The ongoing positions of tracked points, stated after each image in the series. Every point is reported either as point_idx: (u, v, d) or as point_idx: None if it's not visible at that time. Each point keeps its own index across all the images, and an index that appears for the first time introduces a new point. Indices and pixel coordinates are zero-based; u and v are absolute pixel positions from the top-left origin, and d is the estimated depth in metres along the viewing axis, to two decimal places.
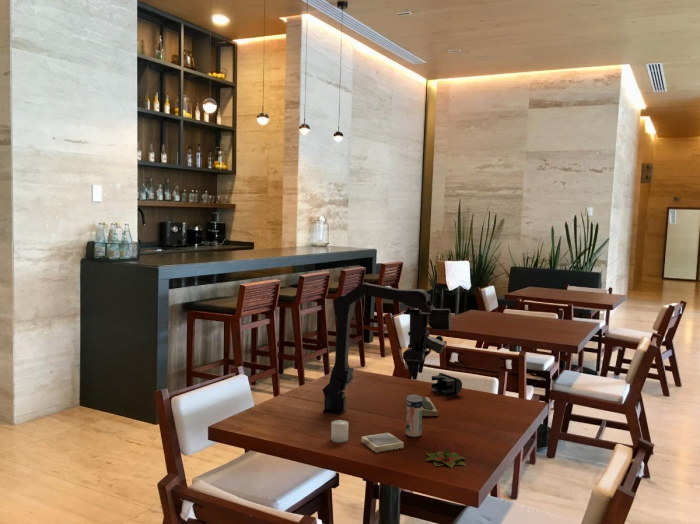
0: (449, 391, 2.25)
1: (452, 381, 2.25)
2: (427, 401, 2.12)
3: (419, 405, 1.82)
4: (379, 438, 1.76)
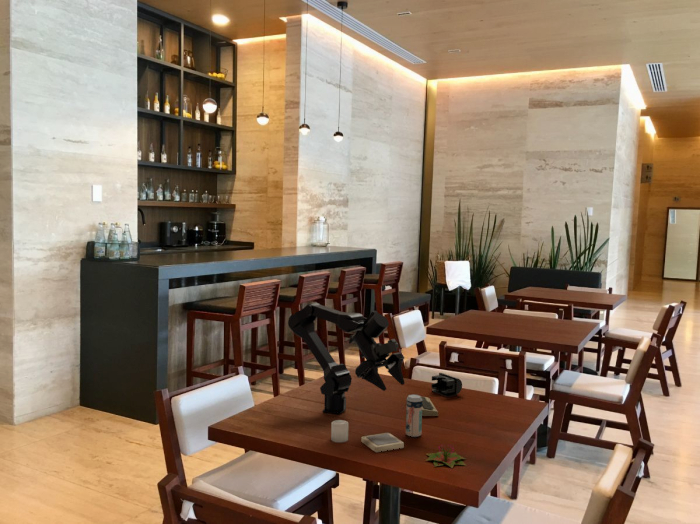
0: (449, 391, 2.25)
1: (452, 381, 2.25)
2: (427, 401, 2.12)
3: (419, 405, 1.82)
4: (379, 438, 1.76)
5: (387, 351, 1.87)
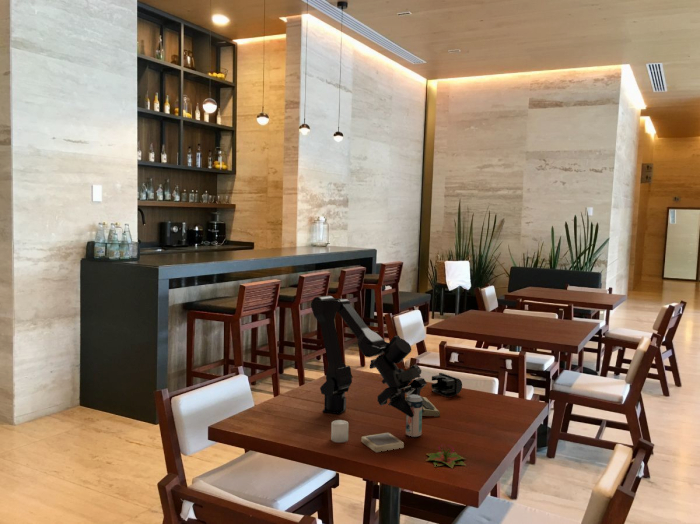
0: (449, 391, 2.25)
1: (452, 381, 2.25)
2: (426, 401, 2.12)
3: (419, 405, 1.82)
4: (379, 438, 1.76)
5: (410, 378, 1.81)
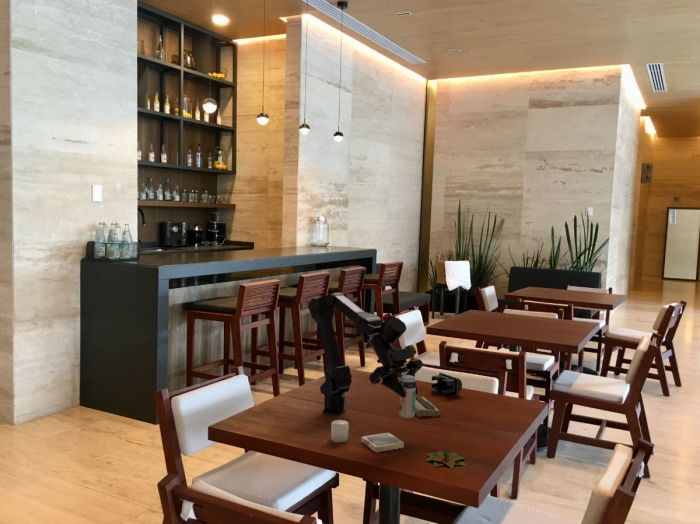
0: (449, 391, 2.25)
1: (452, 381, 2.25)
2: (425, 401, 2.12)
3: (412, 386, 1.78)
4: (379, 438, 1.76)
5: (403, 357, 1.78)
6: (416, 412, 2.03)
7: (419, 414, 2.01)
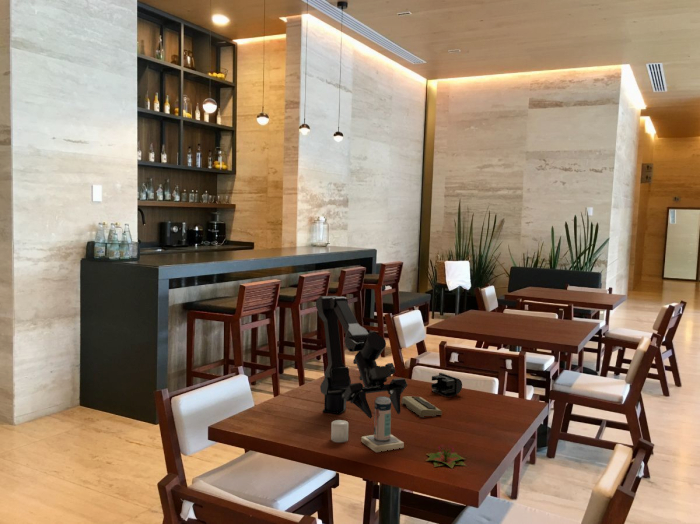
0: (449, 391, 2.25)
1: (452, 381, 2.25)
2: (423, 401, 2.12)
3: (385, 408, 1.73)
4: None
5: (376, 376, 1.73)
6: (418, 412, 2.02)
7: (421, 414, 2.01)
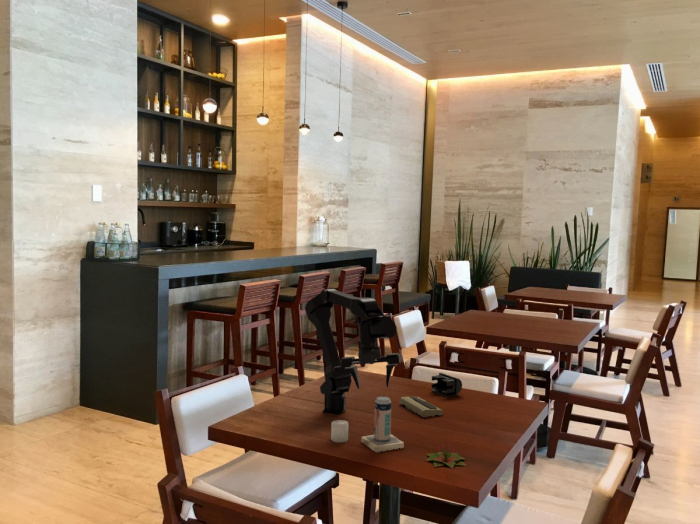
0: (449, 391, 2.25)
1: (452, 381, 2.25)
2: (422, 401, 2.12)
3: (385, 408, 1.73)
4: None
5: (359, 362, 1.85)
6: (419, 413, 2.02)
7: (423, 414, 2.01)
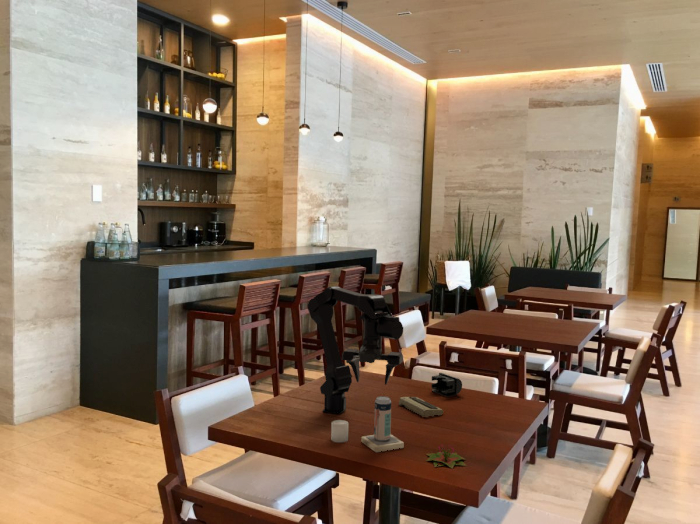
0: (449, 391, 2.25)
1: (452, 381, 2.25)
2: (422, 401, 2.12)
3: (385, 408, 1.73)
4: None
5: (359, 359, 1.87)
6: (420, 412, 2.02)
7: (424, 414, 2.01)
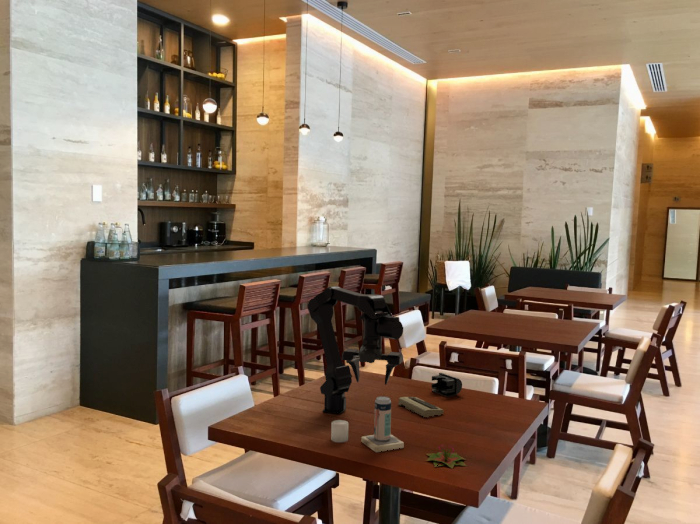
0: (449, 391, 2.25)
1: (452, 381, 2.25)
2: (421, 401, 2.12)
3: (385, 408, 1.73)
4: None
5: (359, 359, 1.87)
6: (421, 413, 2.02)
7: (425, 414, 2.01)
